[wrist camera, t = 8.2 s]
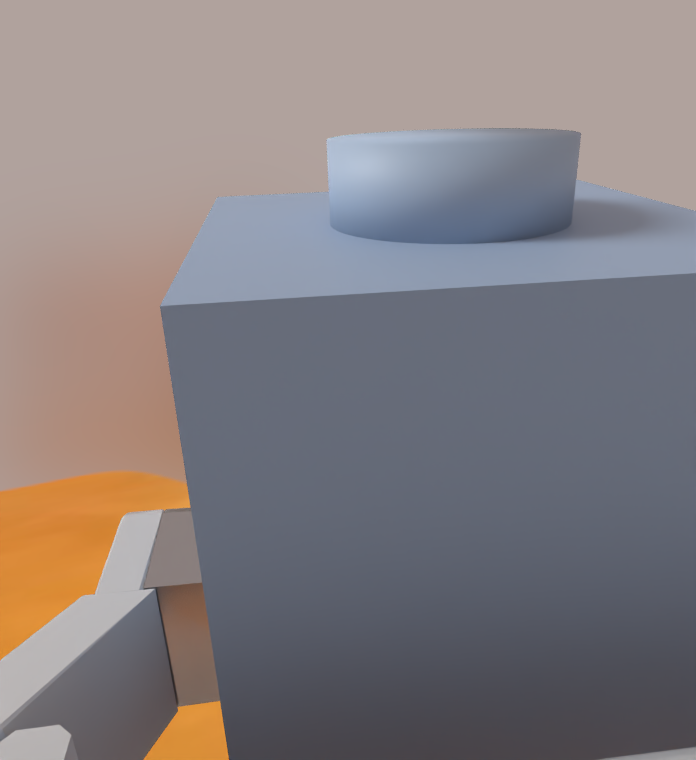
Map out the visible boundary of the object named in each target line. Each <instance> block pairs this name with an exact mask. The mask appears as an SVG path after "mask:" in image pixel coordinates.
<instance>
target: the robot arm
mask: <svg viewBox="0 0 696 760" xmlns="http://www.w3.org/2000/svg"><path fill="white" fill-rule="evenodd" d="M214 701H220V696H219V689H218V683H217V676H216V669H215V663H214V656H213V650H212V643H211V637H210V630H209V624H208V617H207V610H206V604H205V597H204V591H203V584H202V578H201V571H200V565H199V558H198V552H197V545H196V538H195V532H194V525H193V519H192V512H191V508H180V509H166V510H165V511H164V510H151V511H141V512H131V513H127V514H126V515H124V516H123V517H122V519H121V521H120V524H119V527H118V530H117V533H116V536H115V538H114V541H113V544H112V547H111V550H110V552H109V555H108V558H107V561H106V564H105V567H104V569H103V572H102V575H101V578H100V581H99V583H98V586H97V589H96V592H95V594H93V595H84V596H82V597H80V598H79V599H78V600H77V601H75V602H74V603H73V604H72V605H70V606H69V607H68V608H66V609H65V610H64V611H63V612H61V613H60V614H59V615H57V616H56V617H55V618H54V619H52V620H51V621H50V622H49V623H47V624H46V625H45V626H43V627H42V628H41V629H40V630H38V631H37V632H36V633H35V634H33V635H32V636H31V637H29V638H28V639H27V640H26V641H24V642H23V643H22V644H20V645H19V646H18V647H17V648H15V649H14V650H13V651H12V652H10V653H9V654H8V655H6V656H5V657H4V658H3V659H1V660H0V760H143V759H144V758H145V756H146V755H147V753H148V752H149V751H150V749H151V748H152V746H153V745H154V744H155V742H156V741H157V739H158V738H159V737H160V735H161V734H162V732H163V731H164V730H165V728H166V727H167V725H168V724H169V723H170V721H171V720H172V718H173V717H174V716H175V714H176V713H177V711H178V709H177V707H179V706H186V705H193V704H200V703H207V702H214ZM597 760H696V747H690V748H682V749H674V750H667V751H659V752H651V753H644V754H636V755H628V756H620V757H613V758H605V759H597Z"/></svg>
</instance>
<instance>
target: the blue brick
mask: <svg viewBox="0 0 696 760" xmlns="http://www.w3.org/2000/svg"><path fill="white" fill-rule="evenodd" d="M580 138H581V133H580V132H576V131H567V130H554V129H520V128H518V129H516V128H515V129H514V128H512V129H511V128H489V129H485V128H484V129H440V130H439V129H438V130H412V131H393V132H377V133H364V134H353V135H344V136H337V137H332V138H329V139H327V159H328V183H329V192H314V193H293V194H273V195H251V196H230V197H217V199H216V201H215V203H214V205H213V206H212V208H211V210H210V212H209V214H208V216H207V218H206V220H205V222H204V224H203V225H202V227H201V229H200V231H199V233H198V235H197V237H196V239H195V241H194V243H193V244H192V246H191V248H190V250H189V252H188V254H187V256H186V258H185V260H184V262H183V263H182V265H181V267H180V269H179V271H178V273H177V275H176V277H175V279H174V280H173V283H172V284H171V286H170V288H169V290H168V292H167V294H166V296H165V298H164V300H163V302H162V303H161V305H160V309H161V315H162V321H163V328H164V335H165V342H166V348H167V355H168V361H169V368H170V375H171V381H172V388H173V394H174V401H175V407H176V414H177V420H178V427H179V434H180V440H181V447H182V453H183V459H184V466H185V473H186V479H187V486H188V493H189V499H190V506H191V512H192V519H193V525H194V532H195V538H196V545H197V552H198V558H199V565H200V571H201V578H202V584H203V591H204V597H205V604H206V610H207V617H208V624H209V630H210V637H211V643H212V650H213V656H214V663H215V669H216V676H217V683H218V689H219V696H220V702H221V709H222V715H223V722H224V728H225V735H226V742H227V748H228V755H229V760H597V759H605V758H613V757H620V756H628V755H636V754H644V753H651V752H659V751H667V750H674V749H682V748H690V747H696V211H693V210H690V209H686V208H682V207H678V206H675V205H671V204H667V203H663V202H659V201H656V200H652V199H648V198H644V197H641V196H637V195H633V194H629V193H625V192H622V191H618V190H614V189H610V188H607V187H603V186H599V185H595V184H591V183H588V182H584V181H580V180H576V177H577V167H578V157H579V148H580Z"/></svg>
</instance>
